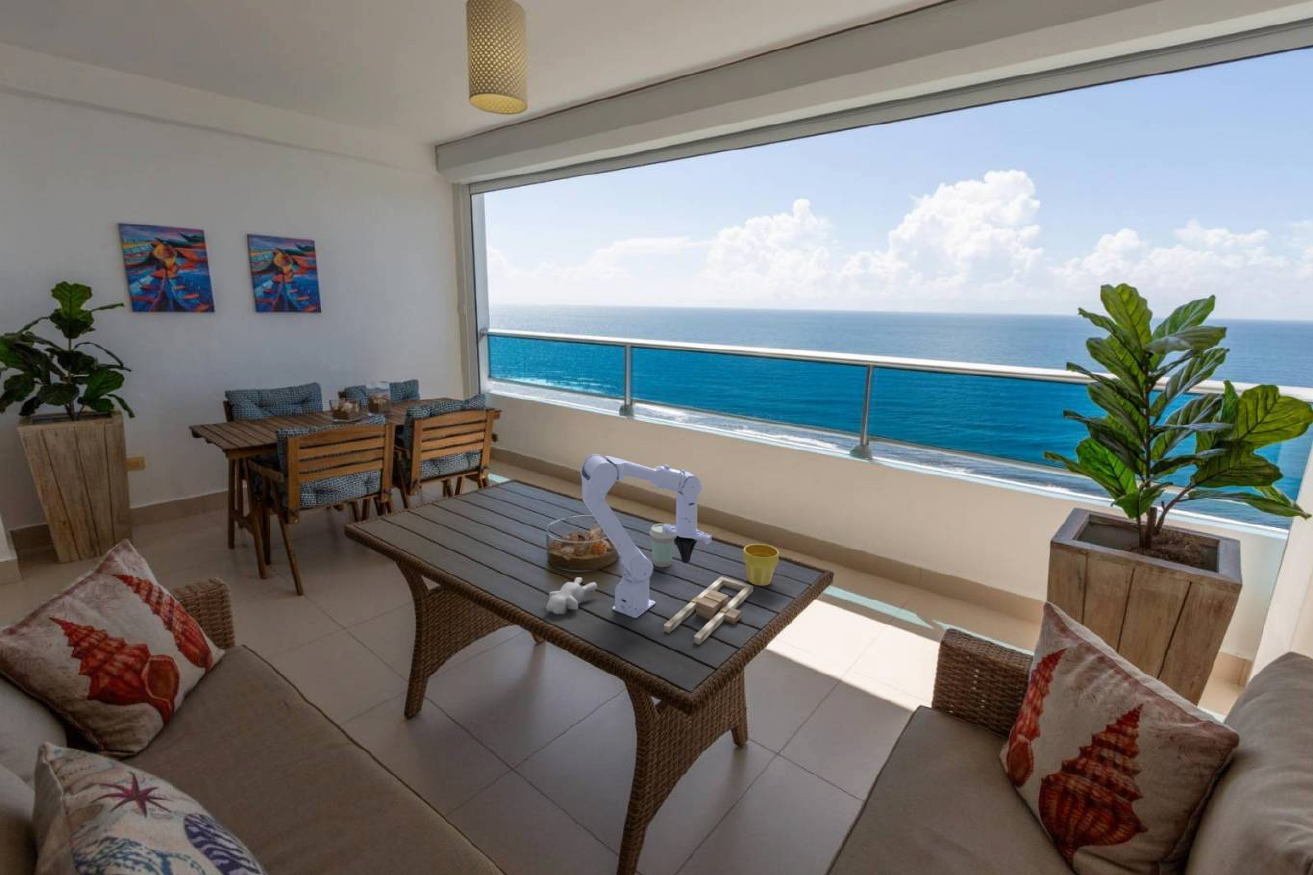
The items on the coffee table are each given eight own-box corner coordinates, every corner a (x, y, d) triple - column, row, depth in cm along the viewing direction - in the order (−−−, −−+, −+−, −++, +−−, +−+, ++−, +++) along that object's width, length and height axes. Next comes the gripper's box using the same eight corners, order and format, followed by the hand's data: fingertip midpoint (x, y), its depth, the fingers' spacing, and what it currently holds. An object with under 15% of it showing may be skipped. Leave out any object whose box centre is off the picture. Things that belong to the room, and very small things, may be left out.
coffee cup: (678, 559, 179) (679, 524, 176) (672, 571, 171) (673, 534, 168) (653, 555, 181) (653, 521, 178) (645, 567, 173) (646, 531, 170)
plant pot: (752, 569, 173) (754, 540, 171) (783, 579, 166) (785, 549, 164) (735, 581, 165) (737, 550, 163) (766, 592, 159) (768, 561, 156)
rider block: (712, 621, 144) (712, 607, 143) (696, 615, 147) (696, 600, 146) (727, 609, 150) (728, 595, 149) (712, 603, 153) (712, 589, 152)
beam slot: (710, 649, 132) (711, 641, 131) (663, 631, 139) (664, 623, 138) (762, 594, 158) (762, 587, 157) (720, 581, 165) (721, 575, 164)
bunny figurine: (537, 597, 146) (574, 569, 158) (539, 613, 148) (575, 584, 160) (564, 607, 141) (600, 578, 153) (566, 624, 143) (601, 594, 155)
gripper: (717, 516, 150) (715, 562, 153) (671, 506, 158) (671, 550, 161) (704, 524, 144) (703, 572, 147) (658, 513, 152) (658, 559, 155)
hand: (685, 561), depth 154 cm, fingers closed
